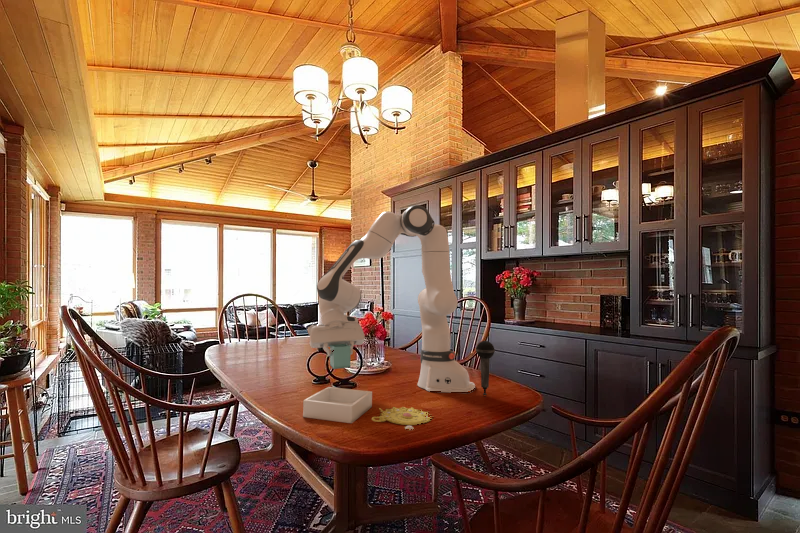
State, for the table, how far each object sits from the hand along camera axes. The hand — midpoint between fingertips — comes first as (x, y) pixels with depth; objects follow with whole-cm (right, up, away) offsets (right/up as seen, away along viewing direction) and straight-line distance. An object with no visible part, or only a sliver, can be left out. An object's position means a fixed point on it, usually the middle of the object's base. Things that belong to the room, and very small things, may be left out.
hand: (340, 354), depth 145 cm
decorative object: (+22, -15, -22) cm, 34 cm away
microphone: (+52, -16, +1) cm, 54 cm away
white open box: (+2, -14, -17) cm, 23 cm away
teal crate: (0, -4, +1) cm, 4 cm away
